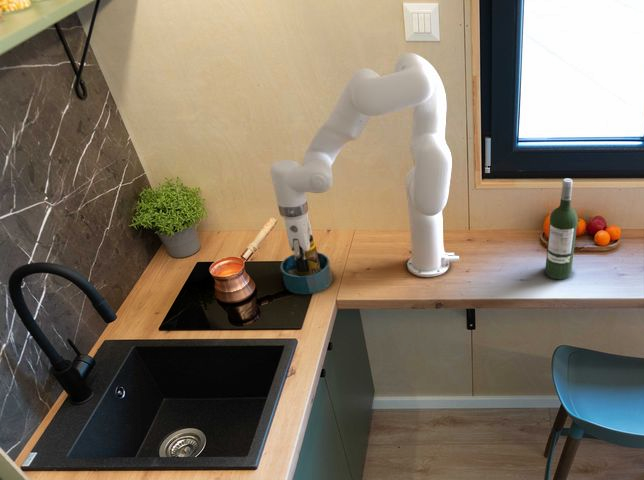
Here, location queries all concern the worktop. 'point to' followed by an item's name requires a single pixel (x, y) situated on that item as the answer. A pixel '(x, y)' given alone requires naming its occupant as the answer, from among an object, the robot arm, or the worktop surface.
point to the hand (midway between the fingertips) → (305, 264)
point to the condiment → (309, 260)
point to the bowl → (308, 282)
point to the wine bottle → (562, 236)
